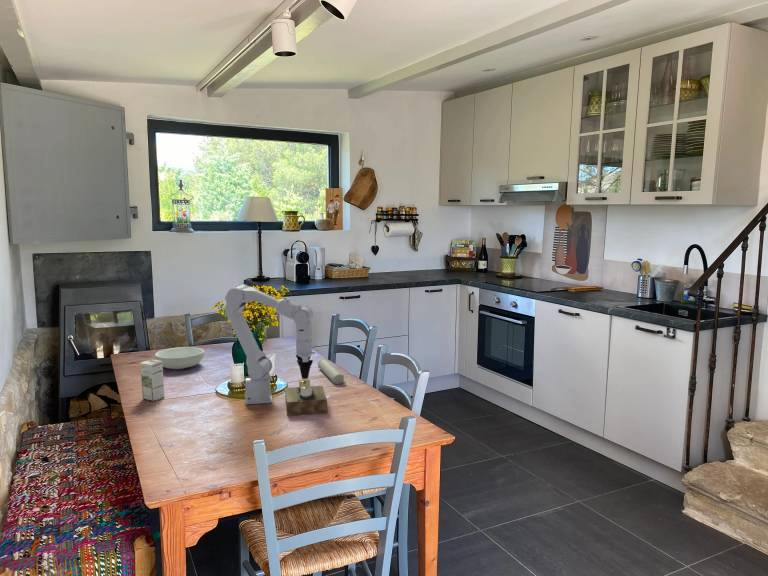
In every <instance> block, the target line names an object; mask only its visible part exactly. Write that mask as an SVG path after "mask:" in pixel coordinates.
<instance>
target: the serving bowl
mask: <svg viewBox="0 0 768 576" xmlns="http://www.w3.org/2000/svg"><path fill="white" fill-rule="evenodd" d="M204 355H205V350H204V349H203V348H199V347H194V346H193V347H191V346H180V347H171V348H165V349H162V350H159V351H157V352H155V354H154V356H155V360H158V361H162V366H163V368H166V369H172V370H184V368H186V369H188V367H189V368H192V367H195V366H196V365H198V364H200V363H201V362H202V360H203V358H204Z"/></svg>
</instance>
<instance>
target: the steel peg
mask: <svg viewBox="0 0 768 576" xmlns="http://www.w3.org/2000/svg"><path fill="white" fill-rule="evenodd" d="M300 392H301V399H305V398H312V387H311V385H310V386H302V387H301V388H300Z"/></svg>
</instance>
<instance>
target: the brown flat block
mask: <svg viewBox="0 0 768 576" xmlns="http://www.w3.org/2000/svg"><path fill="white" fill-rule="evenodd" d="M310 386H311V385H310ZM311 387H312V398H305V399H301V392H299V386H296V387H295V386H292V387H285V389H284V393H285V395H284V396H285V408H286V416H287V417H288V416H290V417H291V416H304V415H305V414H307V415H317V414H319V413H321V414H328V399H327V395H326V392H325V390H324V386H323V385H312V386H311ZM319 415H320V414H319Z"/></svg>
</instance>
